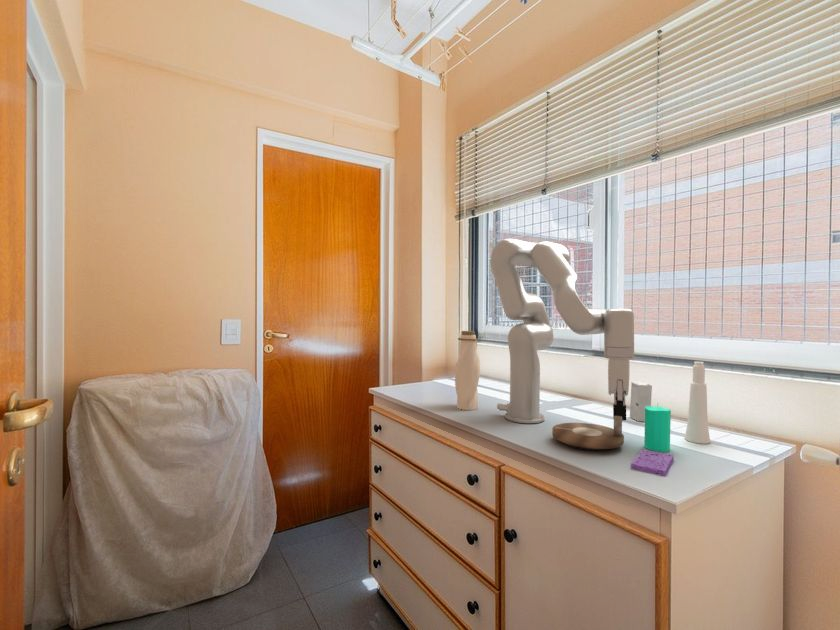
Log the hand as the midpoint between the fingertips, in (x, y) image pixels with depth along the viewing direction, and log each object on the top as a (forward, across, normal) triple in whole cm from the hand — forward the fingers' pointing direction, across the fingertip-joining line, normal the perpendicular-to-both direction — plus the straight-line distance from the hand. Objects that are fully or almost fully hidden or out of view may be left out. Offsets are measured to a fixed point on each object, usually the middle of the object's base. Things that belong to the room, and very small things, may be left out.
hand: (619, 419), depth 116 cm
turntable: (+4, +6, -8) cm, 11 cm away
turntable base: (+6, +6, -8) cm, 12 cm away
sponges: (+7, +16, +7) cm, 19 cm away
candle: (+6, +2, +9) cm, 11 cm away
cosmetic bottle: (+7, -10, +20) cm, 23 cm away
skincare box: (+6, -28, +7) cm, 29 cm away
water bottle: (+5, -19, -50) cm, 54 cm away
